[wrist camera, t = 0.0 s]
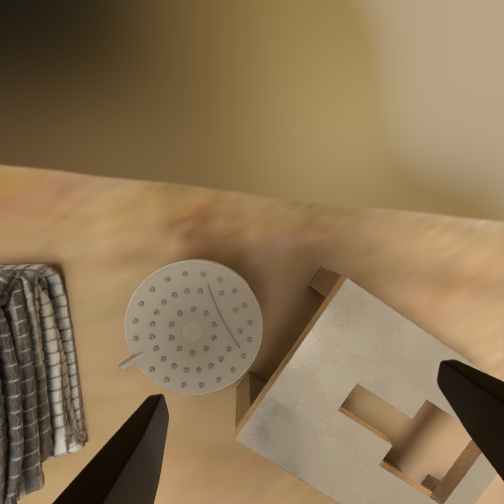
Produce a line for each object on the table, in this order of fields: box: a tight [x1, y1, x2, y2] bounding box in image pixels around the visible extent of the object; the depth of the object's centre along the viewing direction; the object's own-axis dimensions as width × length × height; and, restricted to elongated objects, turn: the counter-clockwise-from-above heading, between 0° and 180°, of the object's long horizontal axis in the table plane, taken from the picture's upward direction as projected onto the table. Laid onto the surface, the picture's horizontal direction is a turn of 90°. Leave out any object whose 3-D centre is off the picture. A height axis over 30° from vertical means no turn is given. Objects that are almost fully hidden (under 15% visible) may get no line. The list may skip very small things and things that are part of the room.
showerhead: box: [118, 259, 263, 395], centre depth 20 cm, size 9×7×10 cm
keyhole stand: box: [235, 267, 497, 504], centre depth 22 cm, size 14×18×6 cm
